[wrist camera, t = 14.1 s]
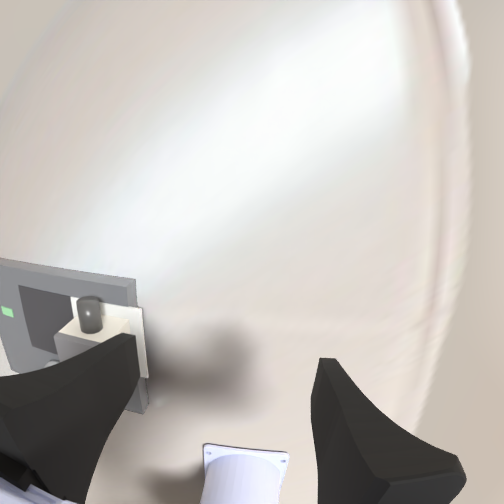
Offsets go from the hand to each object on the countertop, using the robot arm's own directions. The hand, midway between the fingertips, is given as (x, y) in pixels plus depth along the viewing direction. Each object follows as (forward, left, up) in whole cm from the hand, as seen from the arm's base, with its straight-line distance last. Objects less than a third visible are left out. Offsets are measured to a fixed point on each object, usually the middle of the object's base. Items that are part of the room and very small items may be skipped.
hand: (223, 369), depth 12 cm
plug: (-5, +10, -8) cm, 14 cm away
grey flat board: (-7, +16, -10) cm, 20 cm away
